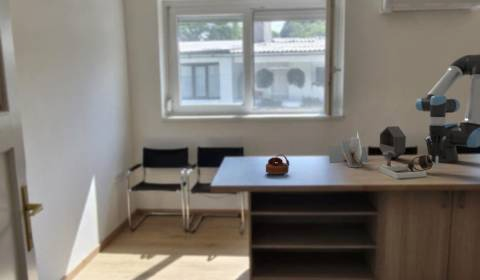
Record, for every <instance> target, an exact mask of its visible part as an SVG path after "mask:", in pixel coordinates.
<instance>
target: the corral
mask: <svg viewBox="0 0 480 280" xmlns="http://www.w3.org/2000/svg"><path fill="white" fill-rule="evenodd" d="M408 170H409V168H408V164H407V165H395V166H389V167H381V166H380V167H379V172H380V173H382V174H384V175H387V176H390V177H392V178H394V179H397V180H398V179H409V178H422V177H424V178H425V177H426V176H427V171H414V172H413V171H411V172H400V171H408ZM398 171H399V172H398Z"/></svg>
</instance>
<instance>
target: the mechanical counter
mask: <svg viewBox="0 0 480 280" xmlns="http://www.w3.org/2000/svg"><path fill="white" fill-rule="evenodd" d="M416 159H418V165H419V166H420V169H418V168H416V167H415V166H414V161H415V160H416ZM407 165H408V170H410V171H411V172H413V171H414V170H415V171H416V172H425V171H427V170H431V169H433V168H432V166H433V162H432V160H431V155H429V154H428V153H427V154H423V155H419V156H416V157H414V158H413V159H412V161H408V162H407Z"/></svg>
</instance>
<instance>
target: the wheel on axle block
mask: <svg viewBox="0 0 480 280" xmlns="http://www.w3.org/2000/svg"><path fill="white" fill-rule="evenodd" d="M382 157H384V158H385V157H387V159H386V164H385V163H384V164H380V167H389V166H396V165H395V164H392V163H391V161H392V159H391V157H396V153H393V152H390V151H388V152H384V153H382Z"/></svg>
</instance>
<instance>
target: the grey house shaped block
mask: <svg viewBox="0 0 480 280" xmlns="http://www.w3.org/2000/svg"><path fill="white" fill-rule="evenodd" d="M406 138H407V137H406V135H405V133H404V132H403V130H402V129H401V128H400V127H399V125H397V126H396V125H395V126H392V125H391V126H386V127H385V128H384V129H383V130H382V131H381V132H380V133H379V150H380V152H381V153H382V154H383V153H384V152H388V151H390V152H393V153H396V157H391V160H392V159H398V158H399V157H401V156H402V155H403V154H405V152H406V144H407V143H406V142H407V141H406V140H407V139H406ZM384 158H385V159H386V160H387V157H384Z"/></svg>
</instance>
